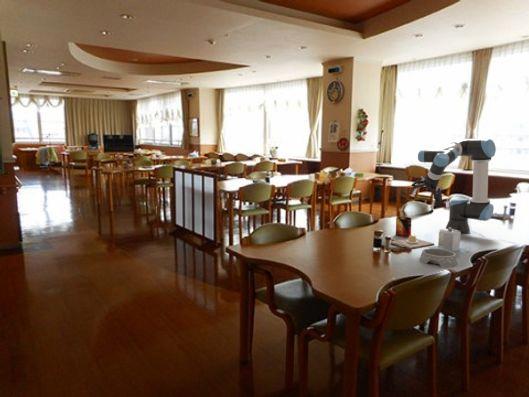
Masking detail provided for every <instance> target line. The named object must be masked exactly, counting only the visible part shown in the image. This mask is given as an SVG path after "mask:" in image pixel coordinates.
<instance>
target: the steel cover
mask: <svg viewBox="0 0 529 397" xmlns="http://www.w3.org/2000/svg"><path fill="white" fill-rule="evenodd" d="M461 236H462V234H461V232H460V231H458V230H454V229H452V228H448V229H446V228H441V229H439V231H438V241H437V243H438V244H437V246H438V249H444V250H448V251H452V252H457V251H459V250H460V248H461V239H462V238H461Z"/></svg>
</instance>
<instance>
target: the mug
mask: <svg viewBox="0 0 529 397" xmlns="http://www.w3.org/2000/svg"><path fill="white" fill-rule="evenodd" d="M395 219H396V220H395V236H396V237H399V238H409V236H410V235H412V218H411V217H409V216H397V217H396V218H395Z"/></svg>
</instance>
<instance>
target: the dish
mask: <svg viewBox="0 0 529 397" xmlns="http://www.w3.org/2000/svg"><path fill="white" fill-rule="evenodd" d="M407 239H408V240H406V242H407V243H410V244H418V241H417V240H416V239H417V237H416V236H415V235H414V234H411V235H410V236H409V237H407Z"/></svg>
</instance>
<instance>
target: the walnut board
mask: <svg viewBox="0 0 529 397" xmlns="http://www.w3.org/2000/svg"><path fill="white" fill-rule="evenodd" d="M406 240H408V238H404V239H397V240H392V241H391V242H392V243H395V244H399V245H402V246H405V247H407V248H406V249H409V250H414V249H415V250H416V249H420V248H421V249H422V248H425V247H427V248H428V247H433V246H435V243H434V242H430V241H427V240H422V239H420V238H416V240H417V241H418V244H410V243H407V242H406Z"/></svg>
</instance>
